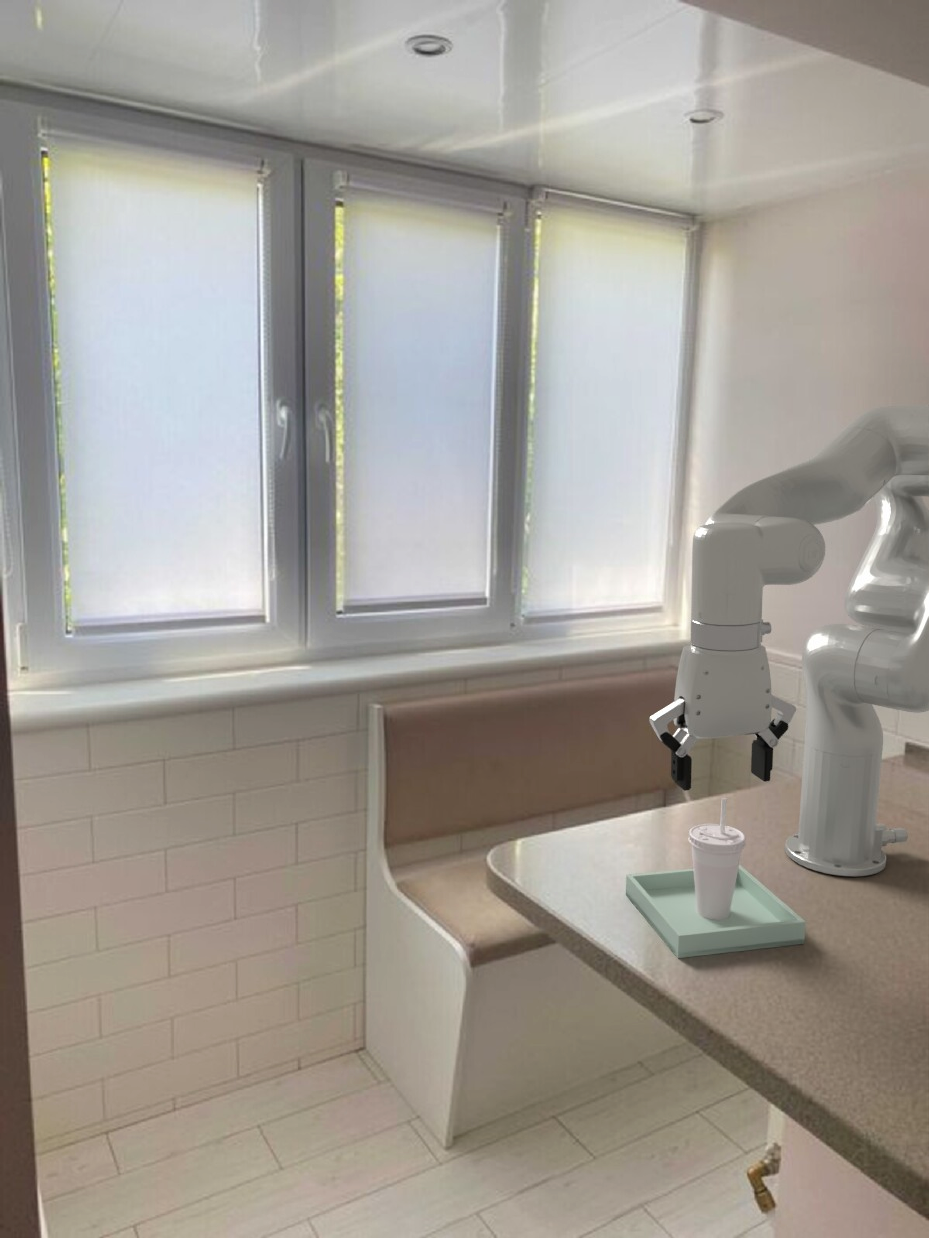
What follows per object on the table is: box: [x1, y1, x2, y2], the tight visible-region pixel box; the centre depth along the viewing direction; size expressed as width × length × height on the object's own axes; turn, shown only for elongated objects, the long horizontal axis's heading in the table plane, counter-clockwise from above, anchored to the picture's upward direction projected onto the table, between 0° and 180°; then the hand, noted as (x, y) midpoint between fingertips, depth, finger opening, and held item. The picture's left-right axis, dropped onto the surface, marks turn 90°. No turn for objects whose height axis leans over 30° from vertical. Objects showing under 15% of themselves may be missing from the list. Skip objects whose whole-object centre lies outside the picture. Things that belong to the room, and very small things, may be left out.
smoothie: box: [687, 797, 747, 920], centre depth 108 cm, size 6×6×14 cm
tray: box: [625, 863, 807, 959], centre depth 109 cm, size 15×15×3 cm
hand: (721, 781), depth 106 cm, fingers open, 9 cm apart
